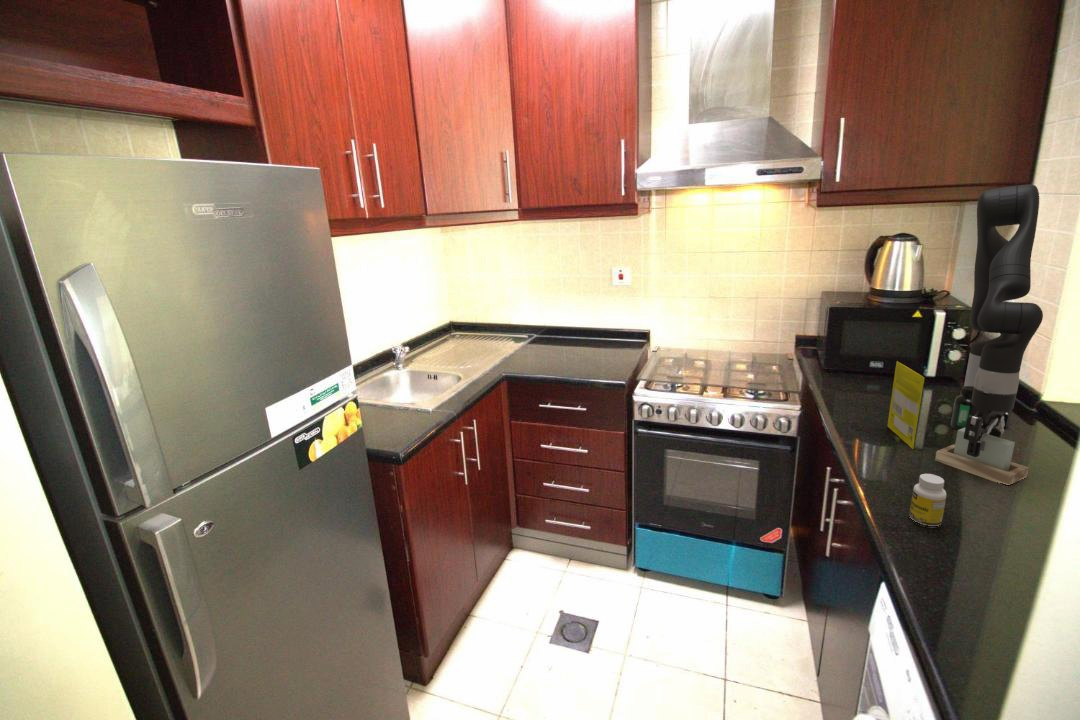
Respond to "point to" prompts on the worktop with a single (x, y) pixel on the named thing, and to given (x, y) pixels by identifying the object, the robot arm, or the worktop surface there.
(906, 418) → the food package
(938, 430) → the worktop surface
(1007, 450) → the door panel
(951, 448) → the track
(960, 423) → the supplement bottle
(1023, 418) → the worktop surface
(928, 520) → the supplement bottle
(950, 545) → the worktop surface
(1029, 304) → the robot arm
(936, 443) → the worktop surface
